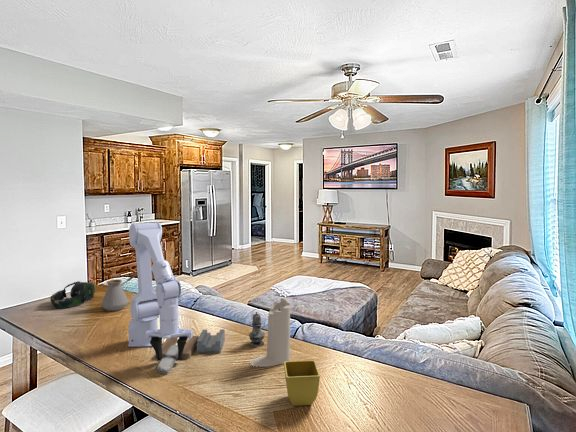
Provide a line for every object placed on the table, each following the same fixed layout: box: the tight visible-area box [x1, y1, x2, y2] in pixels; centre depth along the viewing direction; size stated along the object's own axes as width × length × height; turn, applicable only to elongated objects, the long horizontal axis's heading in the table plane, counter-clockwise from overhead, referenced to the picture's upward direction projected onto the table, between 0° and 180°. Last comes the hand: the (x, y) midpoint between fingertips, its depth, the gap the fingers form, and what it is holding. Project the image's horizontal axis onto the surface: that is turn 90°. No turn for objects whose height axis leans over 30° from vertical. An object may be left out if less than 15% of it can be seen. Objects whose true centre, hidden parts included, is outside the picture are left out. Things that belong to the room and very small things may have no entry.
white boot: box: [247, 297, 291, 368], centre depth 118 cm, size 7×14×20 cm, turn 113°
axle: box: [156, 344, 178, 375], centre depth 116 cm, size 12×4×4 cm, turn 1°
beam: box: [155, 335, 200, 360], centre depth 127 cm, size 11×14×2 cm
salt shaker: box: [248, 311, 266, 348], centre depth 131 cm, size 6×6×12 cm
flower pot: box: [283, 359, 321, 407], centre depth 97 cm, size 9×9×9 cm
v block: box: [196, 328, 226, 354], centre depth 129 cm, size 8×10×4 cm
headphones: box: [50, 280, 96, 310], centre depth 177 cm, size 13×13×20 cm
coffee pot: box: [100, 271, 137, 312], centre depth 173 cm, size 21×12×15 cm, turn 152°
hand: (170, 359), depth 117 cm, fingers open, 6 cm apart
